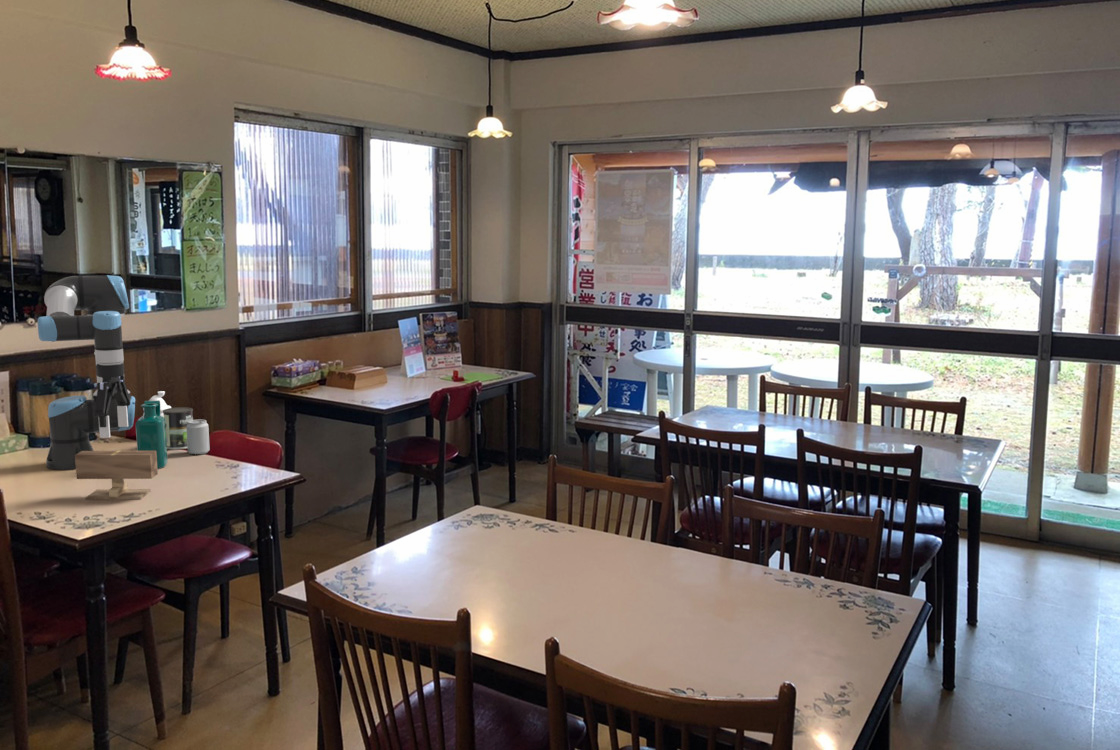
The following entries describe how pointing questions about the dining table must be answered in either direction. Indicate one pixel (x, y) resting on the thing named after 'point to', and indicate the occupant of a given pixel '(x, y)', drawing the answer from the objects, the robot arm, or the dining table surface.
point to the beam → (116, 464)
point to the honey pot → (162, 402)
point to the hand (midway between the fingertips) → (114, 431)
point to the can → (198, 437)
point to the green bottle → (152, 432)
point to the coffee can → (177, 426)
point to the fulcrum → (118, 492)
